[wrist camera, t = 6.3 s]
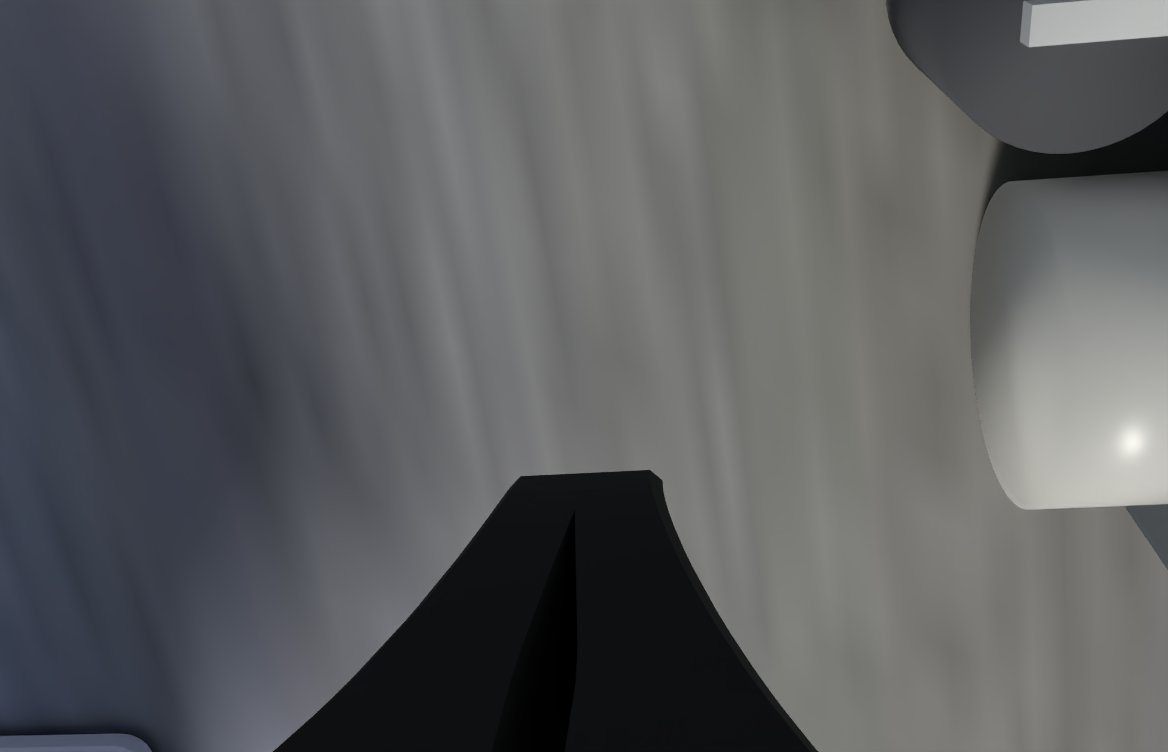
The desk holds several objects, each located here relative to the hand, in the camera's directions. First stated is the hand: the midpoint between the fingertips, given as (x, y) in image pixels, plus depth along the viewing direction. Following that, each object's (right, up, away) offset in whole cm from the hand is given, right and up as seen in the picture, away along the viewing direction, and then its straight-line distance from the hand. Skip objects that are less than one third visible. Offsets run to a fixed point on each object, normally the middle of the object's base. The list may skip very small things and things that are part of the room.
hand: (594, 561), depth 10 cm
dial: (+5, +7, +3) cm, 9 cm away
